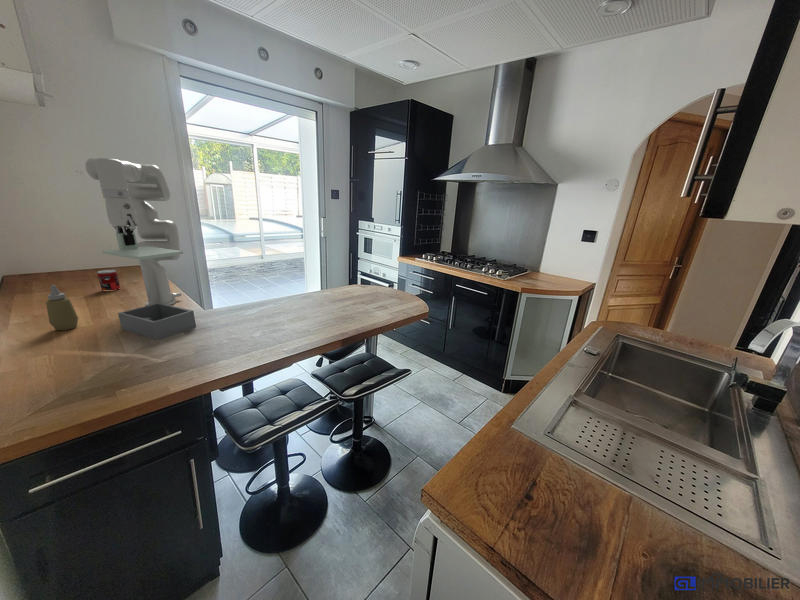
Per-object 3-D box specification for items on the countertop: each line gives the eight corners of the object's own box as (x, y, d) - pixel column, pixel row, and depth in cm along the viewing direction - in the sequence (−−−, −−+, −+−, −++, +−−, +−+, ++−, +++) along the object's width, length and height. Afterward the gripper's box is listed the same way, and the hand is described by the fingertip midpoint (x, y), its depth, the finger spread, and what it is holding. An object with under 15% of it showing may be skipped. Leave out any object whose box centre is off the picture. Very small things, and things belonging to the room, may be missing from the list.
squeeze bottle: (46, 333, 120) (31, 288, 115) (61, 325, 128) (48, 283, 122) (72, 331, 123) (58, 287, 117) (85, 323, 130) (73, 282, 124)
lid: (147, 250, 128) (143, 231, 126) (183, 255, 120) (180, 235, 118) (103, 255, 115) (97, 234, 112) (140, 261, 107) (135, 239, 105)
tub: (162, 319, 137) (158, 302, 135) (196, 328, 129) (193, 310, 127) (122, 331, 124) (117, 313, 121) (158, 342, 116) (153, 322, 113)
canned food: (98, 290, 174) (93, 271, 171) (114, 287, 182) (110, 269, 178) (108, 292, 172) (103, 273, 169) (123, 288, 180) (119, 270, 176)
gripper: (141, 195, 114) (151, 245, 120) (115, 194, 120) (126, 242, 126) (117, 195, 108) (129, 247, 113) (91, 193, 113) (104, 244, 119)
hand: (127, 244), depth 120 cm, fingers closed on lid
